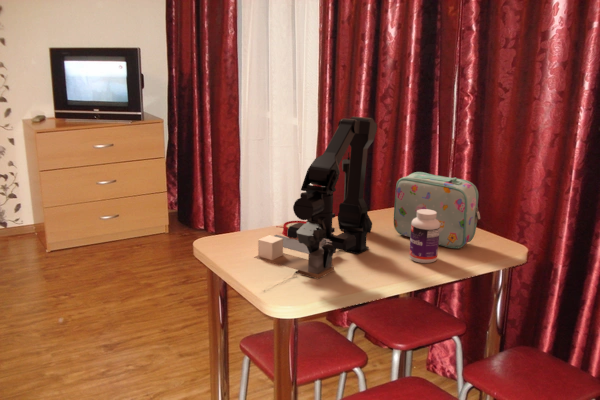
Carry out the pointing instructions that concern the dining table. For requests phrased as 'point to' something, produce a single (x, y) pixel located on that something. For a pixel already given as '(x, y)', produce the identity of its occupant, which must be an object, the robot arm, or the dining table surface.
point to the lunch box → (438, 206)
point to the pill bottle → (424, 237)
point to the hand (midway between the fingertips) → (320, 266)
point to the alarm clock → (288, 224)
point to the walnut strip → (304, 263)
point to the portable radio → (346, 174)
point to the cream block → (270, 247)
